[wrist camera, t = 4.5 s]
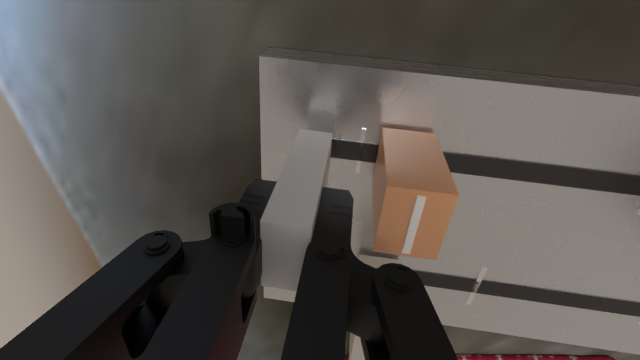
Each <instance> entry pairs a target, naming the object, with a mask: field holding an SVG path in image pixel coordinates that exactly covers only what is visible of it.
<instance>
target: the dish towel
mask: <svg viewBox="0 0 640 360" xmlns="http://www.w3.org/2000/svg"><path fill="white" fill-rule="evenodd" d="M456 356H457V359H458V360H615V359H613V358H611V357H609V356H607V355H591V356H575V355H540V354H526V355H500V354H495V355H488V354H456ZM344 360H349V355H346V356H344Z"/></svg>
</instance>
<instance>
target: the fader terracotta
mask: <svg viewBox="0 0 640 360" xmlns="http://www.w3.org/2000/svg"><path fill="white" fill-rule="evenodd" d="M458 198H459V193H458V191H457V188H456V185H455V183H454V180H453V178H452V175H451V173H450V170H449V167H448V165H447V162H446V160H445V157H444V155H443V152H442V149H441V147H440V144H439V142H438V139H437V136H436V134H435V133H427V132H419V131H410V130H402V129H393V128H385V127H382V132H381V137H380V143H379V148H378V154H377V159H376V164H375V170H374V175H373V181H372V208H373V251H374V252H381V253H388V254H395V255H402V256H409V257H417V258H424V259H431V260H437V257H438V254H439V252H440V249H441V246H442V243H443V240H444V237H445V235H446V232H447V229H448V226H449V223H450V220H451V218H452V215H453V212H454V209H455V206H456V203H457V201H458Z"/></svg>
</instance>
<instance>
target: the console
mask: <svg viewBox="0 0 640 360" xmlns="http://www.w3.org/2000/svg"><path fill="white" fill-rule="evenodd" d="M259 76H260V127H261V178H262V180H269V181H277V180H278V178H279V176H280V173H281V171H282V169H283V166H284V164H285V162H286V160H287V157H288V155H289V153H290V150H291V148H292V146H293V143H294V141H295V139H296V136H297V134H298V132H299V129H303V130H311V131H319V132H327V133H333V137H332V146H331V155H330V165H329V174H328V183H327V187H328V188H335V189H343V190H349V191H350V193H351V195H352V197H353V198H354V203H353V216H352V231H351V249H352V251H353V253H354V255H355V256H356V257H357V258H358V257H359V254H361V255H368V256H375V257H382V258H389V259H396V260H400V261H401V264H402V265H405V266H407V267H409V268H411V269H412V270H413V271H415V272H416V273H417V274H418V276H419V277H420V279H421V280H422V282H423V284H424V287H425V289H426V291H427V293H428V295H429V297H430V300H431V302H432V304H433V306H434V308H435V311H436V313H437V315H438V317H439V319H440V321H441V324H442V325H447V326H454V327H460V328H467V329H474V330H480V331H487V332H493V333H500V334H506V335H513V336H520V337H526V338H533V339H539V340H546V341H553V342H559V343H566V344H572V345H579V346H585V347H592V348H599V349H605V350H612V351H618V352H625V353H631V354H638V355H640V86H638V85H628V84H619V83H609V82H600V81H590V80H580V79H571V78H561V77H552V76H542V75H533V74H523V73H514V72H504V71H494V70H485V69H475V68H466V67H456V66H447V65H437V64H428V63H418V62H409V61H399V60H389V59H380V58H370V57H361V56H351V55H342V54H332V53H323V52H313V51H303V50H294V49H284V48H275V47H270V48H268V49H267V50H266V51H265V52H264V53H262V54H261V55H260V56H259ZM382 127H385V128H393V129H402V130H410V131H419V132H427V133H435V134H436V136H437V139H438V142H439V144H440V147H441V149H442V152H443V155H444V157H445V160H446V162H447V165H448V167H449V170H450V173H451V175H452V178H453V180H454V183H455V185H456V188H457V191H458V193H459V198H458V201H457V203H456V206H455V209H454V212H453V215H452V218H451V220H450V223H449V226H448V229H447V232H446V235H445V237H444V240H443V243H442V246H441V249H440V252H439V254H438V257H437V260H431V259H424V258H417V257H409V256H402V255H395V254H388V253H381V252H374V251H373V208H372V181H373V175H374V170H375V164H376V159H377V154H378V148H379V143H380V137H381V132H382ZM296 292H297V291H291V290H285V289H278V288H272V287H265V286H264V298H270V299H276V300H283V301H290V302H294V300H295V296H296Z"/></svg>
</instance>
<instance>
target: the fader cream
mask: <svg viewBox="0 0 640 360" xmlns="http://www.w3.org/2000/svg"><path fill="white" fill-rule="evenodd" d="M358 259H359V260H360V261H362V262H363V263H365V264H367V265H369V266H372V267H374V268H378V267H380V266H381V265H383V264H387V263H398V264H401V261H400V260H396V259H389V258H382V257H375V256H368V255H361V254H359V257H358ZM349 360H365V357H364V353H363V349H362V344H361V338H360V337H358V336H356V335H354V334H352V333H350V346H349Z"/></svg>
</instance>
